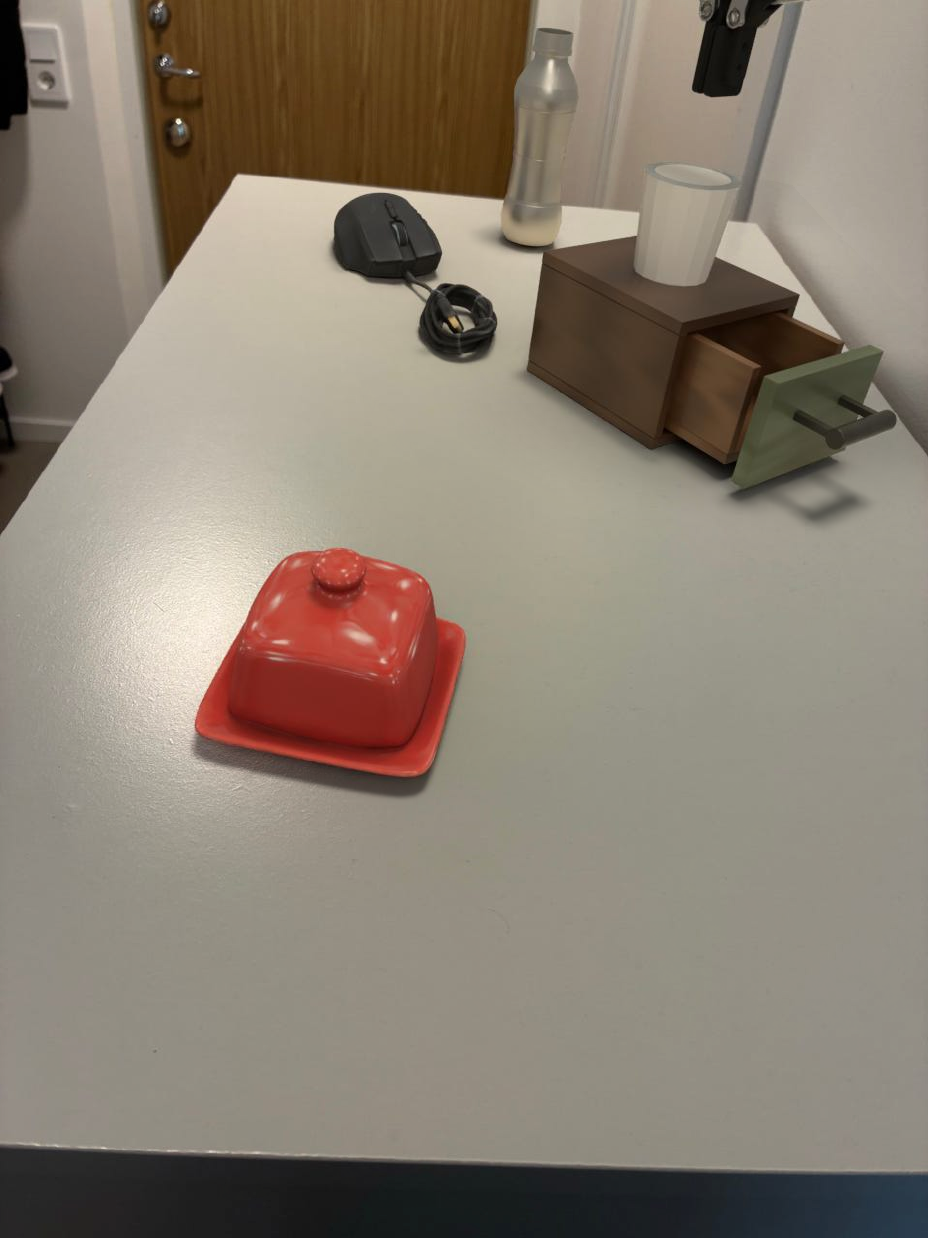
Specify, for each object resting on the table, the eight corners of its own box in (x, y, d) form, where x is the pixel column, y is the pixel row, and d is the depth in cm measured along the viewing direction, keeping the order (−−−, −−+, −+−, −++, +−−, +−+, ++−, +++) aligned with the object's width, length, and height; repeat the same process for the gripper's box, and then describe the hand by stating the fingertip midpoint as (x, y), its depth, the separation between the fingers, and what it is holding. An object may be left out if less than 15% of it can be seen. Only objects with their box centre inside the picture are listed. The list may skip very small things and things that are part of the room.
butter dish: (427, 801, 43) (441, 664, 38) (184, 753, 44) (163, 611, 39) (470, 641, 52) (486, 510, 47) (267, 603, 53) (259, 471, 47)
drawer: (892, 476, 69) (937, 375, 64) (791, 519, 63) (832, 411, 58) (711, 376, 79) (736, 282, 74) (609, 405, 73) (630, 305, 68)
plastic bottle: (532, 257, 100) (562, 39, 88) (485, 239, 104) (506, 26, 91) (569, 246, 104) (603, 35, 92) (522, 228, 108) (548, 23, 95)
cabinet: (762, 413, 77) (800, 294, 71) (650, 449, 71) (682, 322, 64) (635, 342, 86) (659, 231, 79) (526, 369, 79) (543, 250, 73)
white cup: (734, 282, 71) (761, 183, 67) (669, 294, 68) (693, 191, 64) (671, 251, 76) (693, 157, 71) (606, 262, 72) (625, 163, 68)
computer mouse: (398, 230, 103) (400, 176, 100) (530, 355, 81) (539, 292, 78) (313, 234, 100) (313, 179, 96) (428, 366, 78) (432, 300, 74)
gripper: (960, -269, 50) (840, 118, 61) (743, -271, 58) (674, 68, 70) (875, -292, 46) (764, 125, 58) (658, -290, 55) (600, 71, 66)
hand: (715, 92), depth 64 cm, fingers closed
